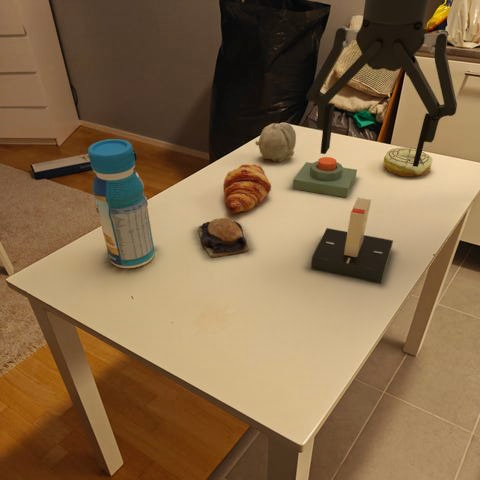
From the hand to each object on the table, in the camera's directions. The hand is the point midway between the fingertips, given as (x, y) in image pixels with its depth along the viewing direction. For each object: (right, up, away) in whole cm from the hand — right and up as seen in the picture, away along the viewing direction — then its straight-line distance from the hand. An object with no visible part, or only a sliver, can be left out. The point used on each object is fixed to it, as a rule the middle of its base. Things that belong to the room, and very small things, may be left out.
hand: (369, 156), depth 69 cm
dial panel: (0, -14, +12) cm, 19 cm away
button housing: (0, +6, +35) cm, 35 cm away
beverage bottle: (-39, -13, +14) cm, 43 cm away
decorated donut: (+20, +11, +40) cm, 46 cm away
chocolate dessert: (-23, -10, +18) cm, 30 cm away
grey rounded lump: (-11, +15, +46) cm, 49 cm away
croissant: (-18, +2, +31) cm, 36 cm away
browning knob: (0, -12, +10) cm, 16 cm away
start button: (0, +9, +32) cm, 34 cm away
